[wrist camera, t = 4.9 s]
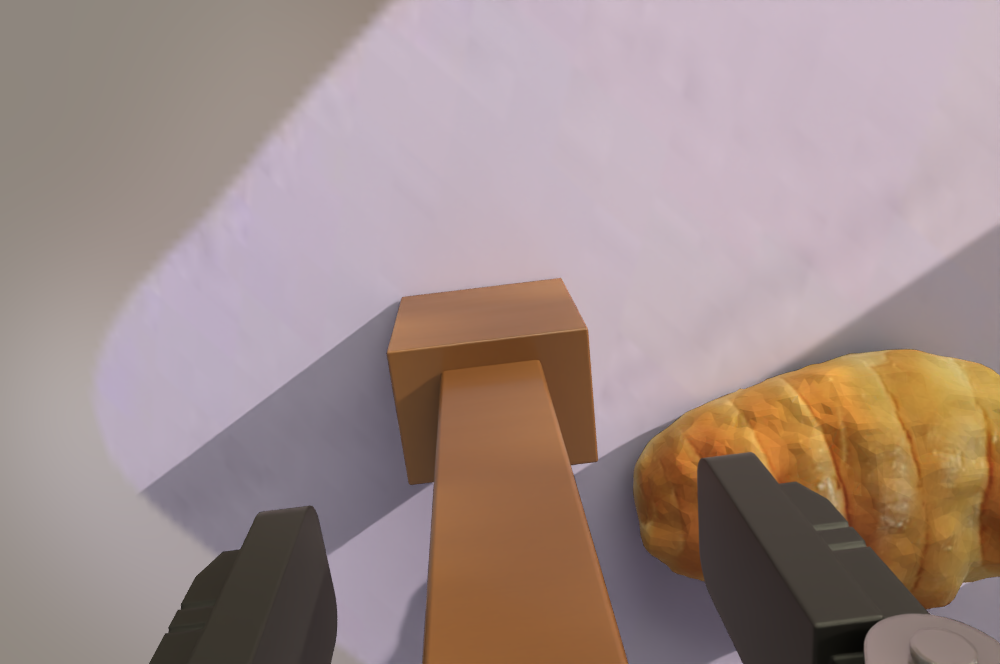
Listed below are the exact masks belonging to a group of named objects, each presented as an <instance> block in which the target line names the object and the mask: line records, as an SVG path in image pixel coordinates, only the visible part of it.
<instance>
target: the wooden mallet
mask: <svg viewBox="0 0 1000 664" xmlns="http://www.w3.org/2000/svg"><path fill="white" fill-rule="evenodd" d="M387 359H388V365H389V371H390V377H391V383H392V389H393V395H394V401H395V406H396V412H397V418H398V424H399V430H400V436H401V442H402V448H403V454H404V459H405V465H406V471H407V477H408V483H409V484H410V485H414V484H422V483H430V482H434V487H433V502H432V518H431V533H430V549H429V565H428V580H427V596H426V611H425V627H424V642H423V658H422V664H628V660H627V657H626V653H625V650H624V646H623V643H622V640H621V636H620V633H619V629H618V626H617V622H616V619H615V616H614V612H613V609H612V605H611V602H610V598H609V595H608V592H607V588H606V585H605V581H604V578H603V574H602V571H601V568H600V564H599V561H598V557H597V554H596V550H595V547H594V543H593V540H592V537H591V533H590V530H589V526H588V523H587V519H586V516H585V513H584V509H583V506H582V502H581V499H580V495H579V492H578V489H577V485H576V482H575V478H574V475H573V471H572V468H571V465H576V464H584V463H592V462H597V461H598V454H597V441H596V428H595V415H594V402H593V388H592V375H591V362H590V349H589V335H588V328H587V326H586V324H585V323H584V321H583V319H582V317H581V315H580V313H579V311H578V309H577V307H576V305H575V303H574V302H573V300H572V298H571V296H570V294H569V292H568V290H567V288H566V286H565V284H564V282H563V281H562V279H561V278H557V279H549V280H541V281H532V282H524V283H516V284H507V285H499V286H491V287H482V288H474V289H466V290H457V291H449V292H441V293H432V294H424V295H416V296H407V297H402V298H401V302H400V306H399V309H398V313H397V317H396V321H395V324H394V328H393V332H392V335H391V339H390V343H389V346H388V350H387Z"/></svg>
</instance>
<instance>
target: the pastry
mask: <svg viewBox="0 0 1000 664" xmlns="http://www.w3.org/2000/svg"><path fill="white" fill-rule="evenodd" d="M747 452H753V453H754V454H755V455H756V456H757V457H758V458H759V459H760V461H761V462H762V463H763V464H764V466H765V467H766V468H767V469H768V471H769V472H770V473H771V474H772V476H773V477H774V478H775V479H776V481H777V482H778V483H779V484H780V483H788V482H798V483H800V484H802V485H803V486H805V487H807V488H809V489H811V490H812V491H814V492H816V493H818V494H820V495H821V496H823V497H825V498H827V499H828V500H829V501H830V502H831V503H832V504H833V505H834V506H835V508H836V509H837V510H838V511H839V512H840V513H841V514H842V516H843V517H844V518H845V519H846V520H847V521H848V524H849V527H853V528H854V529H855V530H856V531H857V532H858V534H859V535H860V536H861V537H862V538H863V539H864V540H865V543H866V546H867V547H869V546H870V547H871V548H872V549H873V551H874V552H875V553H876V554H877V555H878V556H879V557H880V558H881V560H882V561H883V562H884V563H885V564H886V565H887V566H888V567H889V569H890V570H891V571H892V572H893V573H894V574H895V575H896V576H897V578H898V579H899V580H900V581H901V582H902V583H903V584H904V586H905V587H906V588H907V589H908V590H909V591H910V592H911V593H912V595H913V596H914V597H915V598H916V599H917V600H918V601H919V602H920V604H921V605H922V606H923V607H924V608H925V609H930V608H936V607H943V606H946V605H948V604H950V603H951V601H952V600H953V599H954V598H955V596H956V594H957V592H958V590H959V588H960V586H961V585H962V583H963V582H974V581H978V580H981V579H985V578H990V577H1000V375H998V374H997V373H996V372H995V371H994V370H992V369H990V368H988V367H986V366H984V365H982V364H979V363H975V362H970V361H966V360H961V359H956V358H951V357H943V356H938V355H933V354H929V353H926V352H922V351H918V350H914V349H906V350H883V351H875V352H867V353H851V354H847V355H844V356H840V357H838V358H835V359H832V360H829V361H826V362H823V363H820V364H812V365H809V366H806V367H804V368H802V369H799V370H797V371H792V372H788V373H784V374H781V375H778V376H775V377H773V378H769V379H766V380H765V381H764V382H762V383H759V384H757V385H754V386H751V387H749V388H746V389H739V390H738V391H737V392H734V393H730V394H727V395H725V396H722V397H720V398H717V399H715V400H712V401H710V402H708V403H706V404H704V405H702V406H700V407H697V408H695V409H693V410H690V411H688V412H686V413H685V414H684V415H682V416H681V417H680V418H679V419H677V420H676V421H675V422H674V423H673V424H671V425H670V426H669V427H668V428H666V429H665V430H663V431H662V432H660V433H659V434H658V435H656V436H655V437H653V438H652V439H651V440H650V441H649V443H648V444H647V445H646V447H645V448H644V450H643V452H642V454H641V455H640V457H639V459H638V460H637V462H636V465H635V468H634V476H633V478H634V483H633V495H634V501H635V506H636V510H637V515H638V519H639V525H640V534H641V538H642V542H643V545H644V547H645V548H646V550H647V551H648V552H649V553H650V554H651V555H652V556H654V557H656V558H658V559H659V560H660V561H661V562H663V563H664V564H666V565H667V566H668V567H669V568H670V569H671V570H672V571H673V572H675V573H677V574H680V575H684V576H686V577H689V578H694V579H698V580H701V581H704V582H705V580H704V576H703V572H702V567H701V561H700V553H699V522H698V486H697V468H698V463H699V460H700V459H701V458H707V457H715V456H723V455H731V454H739V453H747Z"/></svg>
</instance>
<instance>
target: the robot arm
mask: <svg viewBox="0 0 1000 664" xmlns="http://www.w3.org/2000/svg"><path fill="white" fill-rule="evenodd" d="M697 486H698V522H699V553H700V561H701V567H702V572H703V576H704V580H705V584H706V587H707V590H708V592H709V595H710V597H711V599H712V601H713V603H714V605H715V607H716V609H717V611H718V613H719V615H720V617H721V619H722V621H723V623H724V626H725V628H726V630H727V632H728V634H729V636H730V638H731V640H732V642H733V644H734V646H735V648H736V650H737V652H738V654H739V656H740V658H741V660H742V662H743V664H1000V643H999V642H998V641H996V640H995V639H994V638H992V637H990V636H989V635H987V634H985V633H984V632H982V631H980V630H978V629H976V628H974V627H972V626H970V625H967V624H964V623H962V622H959V621H956V620H953V619H949V618H945V617H941V616H935V615H930V614H929V613H928V611H927V610H926V609H925V608H924V607H923V606H922V605H921V604H920V602H919V601H918V600H917V599H916V598H915V597H914V596H913V595H912V593H911V592H910V591H909V590H908V589H907V588H906V587H905V586H904V584H903V583H902V582H901V581H900V580H899V579H898V578H897V576H896V575H895V574H894V573H893V572H892V571H891V570H890V569H889V567H888V566H887V565H886V564H885V563H884V562H883V561H882V560H881V558H880V557H879V556H878V555H877V554H876V553H875V552H874V551H873V549H872V548H871V547H870V546H869V547H867V546H866V543H865V540H864V539H863V538H862V537H861V536H860V535H859V534H858V532H857V531H856V530H855V529H854V528H853V527H849V524H848V521H847V520H846V519H845V518H844V517H843V516H842V514H841V513H840V512H839V511H838V510H837V509H836V508H835V506H834V505H833V504H832V503H831V502H830V501H829V500H828V499H827V498H825V497H823V496H821V495H820V494H818V493H816V492H814V491H812V490H811V489H809V488H807V487H805V486H803V485H802V484H800V483H798V482H788V483H780V484H779V483H778V482H777V481H776V479H775V478H774V477H773V476H772V474H771V473H770V472H769V471H768V469H767V468H766V467H765V466H764V464H763V463H762V462H761V461H760V459H759V458H758V457H757V456H756V455H755V454H754V453H753V452H747V453H739V454H731V455H723V456H715V457H707V458H701V459H700V460H699V463H698V468H697ZM336 636H337V605H336V597H335V592H334V587H333V582H332V578H331V573H330V569H329V564H328V560H327V555H326V550H325V546H324V541H323V537H322V532H321V527H320V523H319V519H318V515H317V513H316V510H315V509H314V507H313V506H303V507H295V508H287V509H279V510H271V511H263V512H259V513H258V514H257V516H256V517H255V520H254V522H253V524H252V526H251V528H250V530H249V532H248V534H247V536H246V539H245V541H244V543H243V545H242V547H241V549H240V550H233V551H225V552H222V553H221V554H220V555H219V556H218V557H217V558H216V559H215V560H213V561H212V562H211V563H210V564H209V565H208V566H207V567H206V568H205V569H204V570H203V571H202V572H200V573H199V574H198V575H197V576H196V577H195V579H194V581H193V583H192V585H191V587H190V588H189V590H188V592H187V594H186V596H185V598H184V600H183V602H182V603H181V610H178V611H177V613H176V615H175V616H174V618H173V620H172V622H171V624H170V626H169V633H166V634H165V635H164V637H163V639H162V641H161V642H160V644H159V646H158V648H157V650H156V652H155V654H154V655H153V657H152V659H151V661H150V663H149V664H331V660H332V656H333V651H334V647H335V642H336Z"/></svg>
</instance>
